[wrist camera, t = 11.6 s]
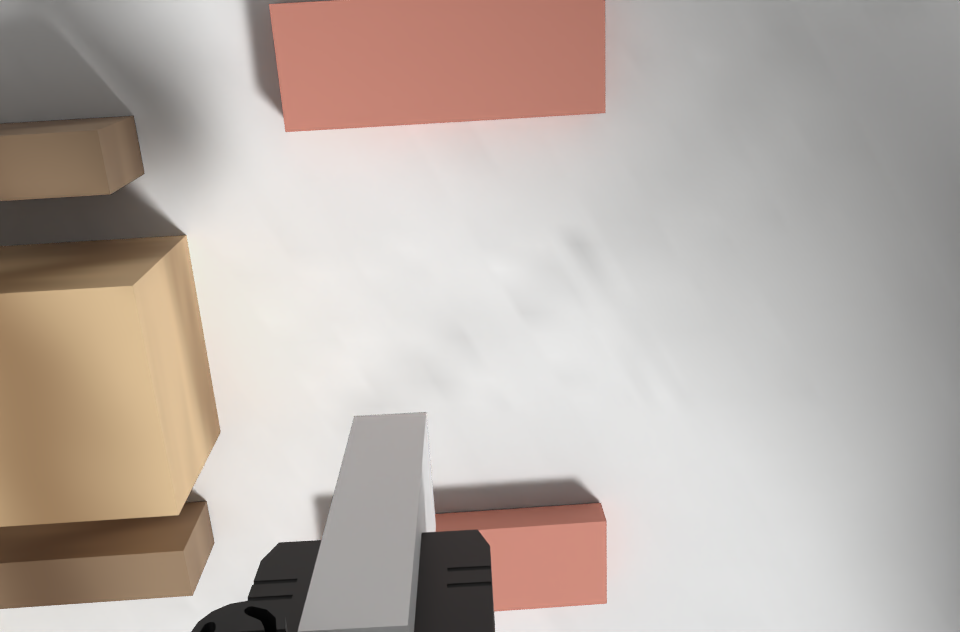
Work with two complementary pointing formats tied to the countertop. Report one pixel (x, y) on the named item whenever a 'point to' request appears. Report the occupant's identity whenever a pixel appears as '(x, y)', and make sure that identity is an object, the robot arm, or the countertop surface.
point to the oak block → (101, 381)
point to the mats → (455, 98)
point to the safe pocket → (104, 543)
